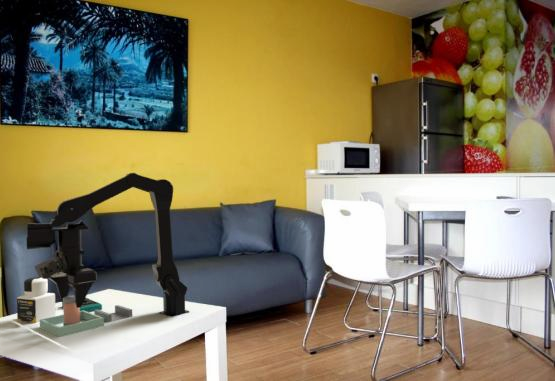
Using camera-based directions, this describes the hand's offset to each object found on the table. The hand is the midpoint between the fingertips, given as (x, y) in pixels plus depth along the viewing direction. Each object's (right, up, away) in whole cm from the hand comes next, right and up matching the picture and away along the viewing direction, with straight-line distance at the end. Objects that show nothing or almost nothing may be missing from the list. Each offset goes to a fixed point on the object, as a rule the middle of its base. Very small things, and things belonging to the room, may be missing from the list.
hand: (71, 304), depth 128 cm
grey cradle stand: (+8, -6, +9) cm, 14 cm away
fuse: (0, -6, 0) cm, 6 cm away
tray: (0, -6, 0) cm, 6 cm away
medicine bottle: (-14, -7, +9) cm, 17 cm away
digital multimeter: (-5, -7, +20) cm, 22 cm away
